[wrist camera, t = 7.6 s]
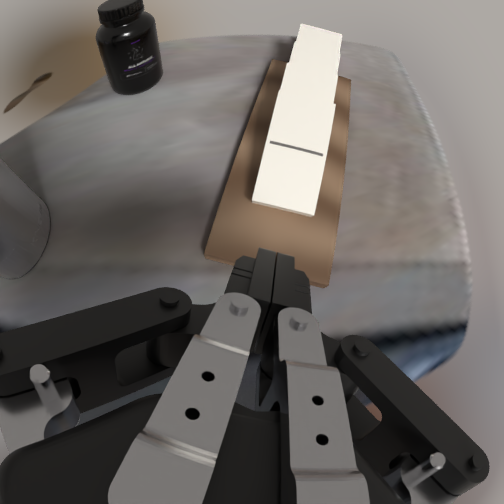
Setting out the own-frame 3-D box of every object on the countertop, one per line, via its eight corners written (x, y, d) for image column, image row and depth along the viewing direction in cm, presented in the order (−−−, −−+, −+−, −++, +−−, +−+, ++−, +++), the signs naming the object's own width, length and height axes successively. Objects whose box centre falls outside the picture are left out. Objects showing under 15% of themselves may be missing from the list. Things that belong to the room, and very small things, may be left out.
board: (324, 288, 24) (328, 285, 23) (205, 258, 24) (203, 253, 23) (348, 86, 33) (350, 79, 31) (271, 66, 33) (272, 59, 32)
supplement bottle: (147, 99, 30) (126, 14, 19) (102, 95, 30) (74, 20, 19) (173, 65, 32) (162, -13, 21) (129, 62, 32) (111, -8, 21)
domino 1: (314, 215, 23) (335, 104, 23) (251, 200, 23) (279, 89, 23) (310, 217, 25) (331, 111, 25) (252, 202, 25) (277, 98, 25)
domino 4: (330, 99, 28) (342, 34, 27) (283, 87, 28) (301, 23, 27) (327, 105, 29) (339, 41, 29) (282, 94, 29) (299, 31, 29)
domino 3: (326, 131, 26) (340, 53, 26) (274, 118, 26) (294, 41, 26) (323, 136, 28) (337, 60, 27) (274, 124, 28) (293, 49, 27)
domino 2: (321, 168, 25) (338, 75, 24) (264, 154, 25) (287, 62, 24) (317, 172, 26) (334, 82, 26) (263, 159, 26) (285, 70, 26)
